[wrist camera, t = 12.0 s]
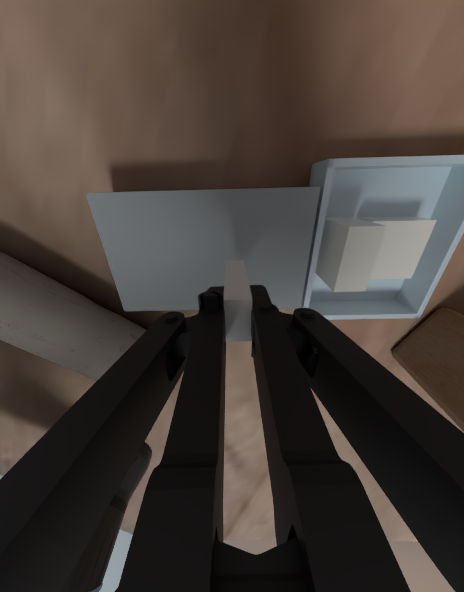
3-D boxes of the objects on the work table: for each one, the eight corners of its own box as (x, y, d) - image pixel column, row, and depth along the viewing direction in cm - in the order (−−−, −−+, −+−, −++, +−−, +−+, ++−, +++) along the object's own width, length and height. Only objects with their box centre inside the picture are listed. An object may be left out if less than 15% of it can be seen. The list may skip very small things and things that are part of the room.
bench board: (140, 293, 27) (124, 311, 23) (112, 191, 21) (85, 193, 17) (290, 290, 26) (300, 308, 23) (303, 186, 21) (320, 186, 17)
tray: (292, 303, 27) (301, 320, 24) (311, 163, 20) (329, 158, 16) (395, 301, 27) (419, 317, 24) (455, 159, 20) (503, 153, 16)
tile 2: (333, 291, 19) (364, 291, 19) (349, 226, 16) (386, 225, 16) (311, 269, 24) (336, 268, 24) (321, 217, 22) (349, 216, 22)
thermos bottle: (163, 349, 33) (-33, 247, 25) (180, 338, 28) (-70, 200, 19) (136, 399, 29) (-117, 293, 21) (149, 400, 23) (-200, 250, 15)
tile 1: (411, 278, 22) (392, 268, 24) (437, 219, 19) (411, 215, 22) (355, 279, 22) (342, 269, 24) (372, 221, 19) (355, 217, 22)
